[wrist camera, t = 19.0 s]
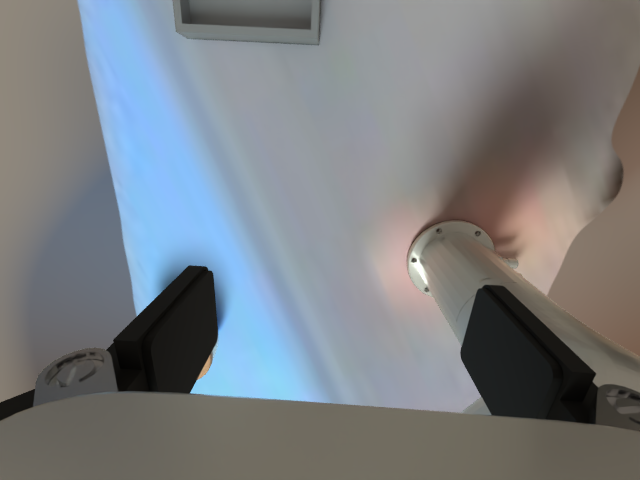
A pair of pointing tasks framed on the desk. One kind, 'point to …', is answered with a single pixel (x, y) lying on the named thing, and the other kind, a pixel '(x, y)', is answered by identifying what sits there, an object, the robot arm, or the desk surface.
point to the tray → (249, 20)
